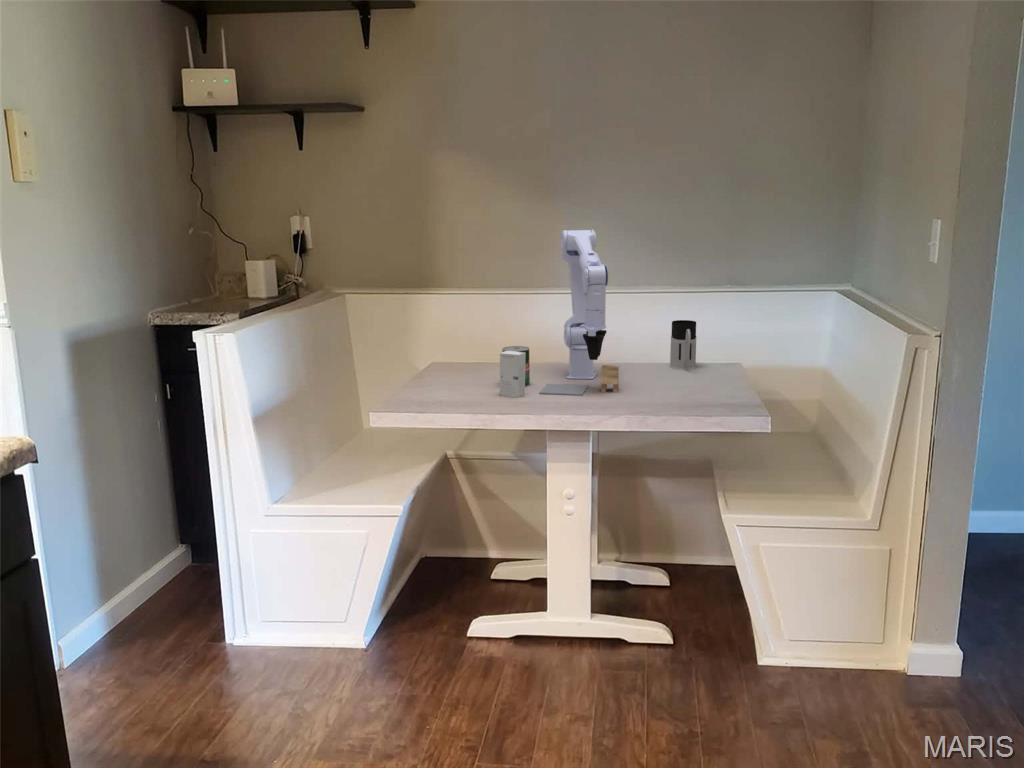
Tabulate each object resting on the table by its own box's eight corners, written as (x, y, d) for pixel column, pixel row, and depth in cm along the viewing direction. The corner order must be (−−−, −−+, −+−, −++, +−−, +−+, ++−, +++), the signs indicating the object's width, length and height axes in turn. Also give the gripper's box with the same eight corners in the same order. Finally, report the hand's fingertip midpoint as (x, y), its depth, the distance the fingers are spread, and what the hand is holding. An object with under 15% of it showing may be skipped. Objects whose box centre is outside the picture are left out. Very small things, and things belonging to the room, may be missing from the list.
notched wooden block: (602, 389, 242) (602, 365, 240) (618, 389, 241) (618, 365, 239) (601, 392, 237) (601, 368, 236) (617, 393, 237) (617, 368, 235)
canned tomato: (527, 388, 244) (526, 350, 241) (500, 388, 245) (499, 350, 243) (532, 383, 251) (531, 346, 249) (505, 382, 253) (505, 345, 251)
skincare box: (499, 396, 235) (498, 352, 233) (507, 392, 239) (506, 350, 236) (518, 398, 232) (518, 354, 230) (526, 394, 236) (526, 351, 233)
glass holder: (694, 366, 273) (695, 319, 270) (702, 375, 259) (704, 326, 256) (666, 366, 273) (667, 320, 270) (673, 375, 260) (675, 326, 256)
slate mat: (547, 385, 247) (547, 383, 247) (588, 387, 245) (588, 385, 244) (539, 394, 236) (539, 392, 236) (582, 396, 233) (582, 394, 233)
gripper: (584, 306, 243) (583, 353, 246) (576, 312, 229) (576, 362, 232) (608, 306, 241) (608, 353, 244) (603, 312, 227) (602, 362, 230)
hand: (594, 357), depth 238 cm, fingers open, 5 cm apart
